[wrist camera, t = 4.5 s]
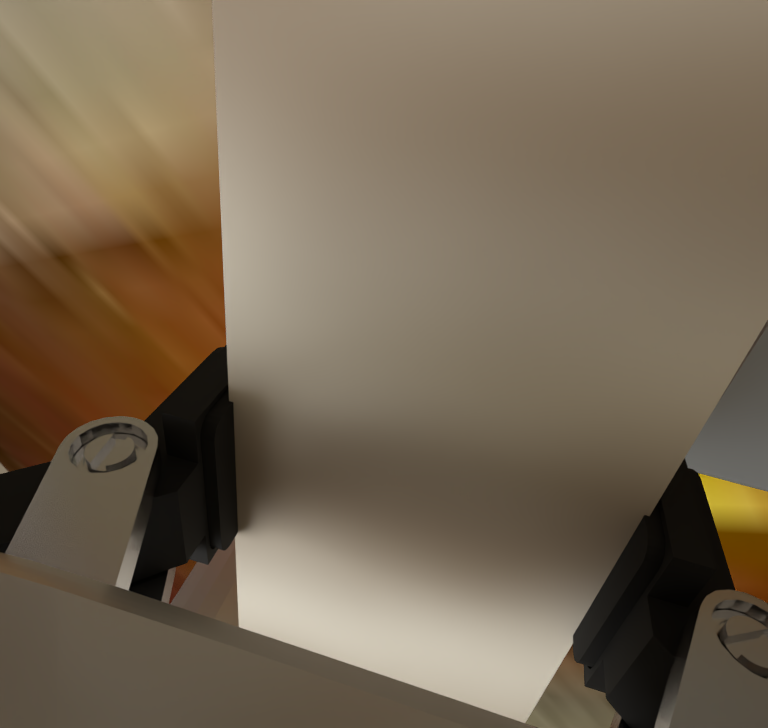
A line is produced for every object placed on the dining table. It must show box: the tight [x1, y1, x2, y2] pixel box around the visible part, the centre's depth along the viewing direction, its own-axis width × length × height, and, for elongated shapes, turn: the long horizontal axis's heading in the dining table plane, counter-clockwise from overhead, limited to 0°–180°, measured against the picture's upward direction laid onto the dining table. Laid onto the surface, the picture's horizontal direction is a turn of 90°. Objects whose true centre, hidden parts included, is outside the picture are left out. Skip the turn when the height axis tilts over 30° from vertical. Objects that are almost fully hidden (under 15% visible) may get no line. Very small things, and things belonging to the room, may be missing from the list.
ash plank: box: [212, 0, 768, 723], centre depth 10 cm, size 16×7×4 cm, turn 173°
